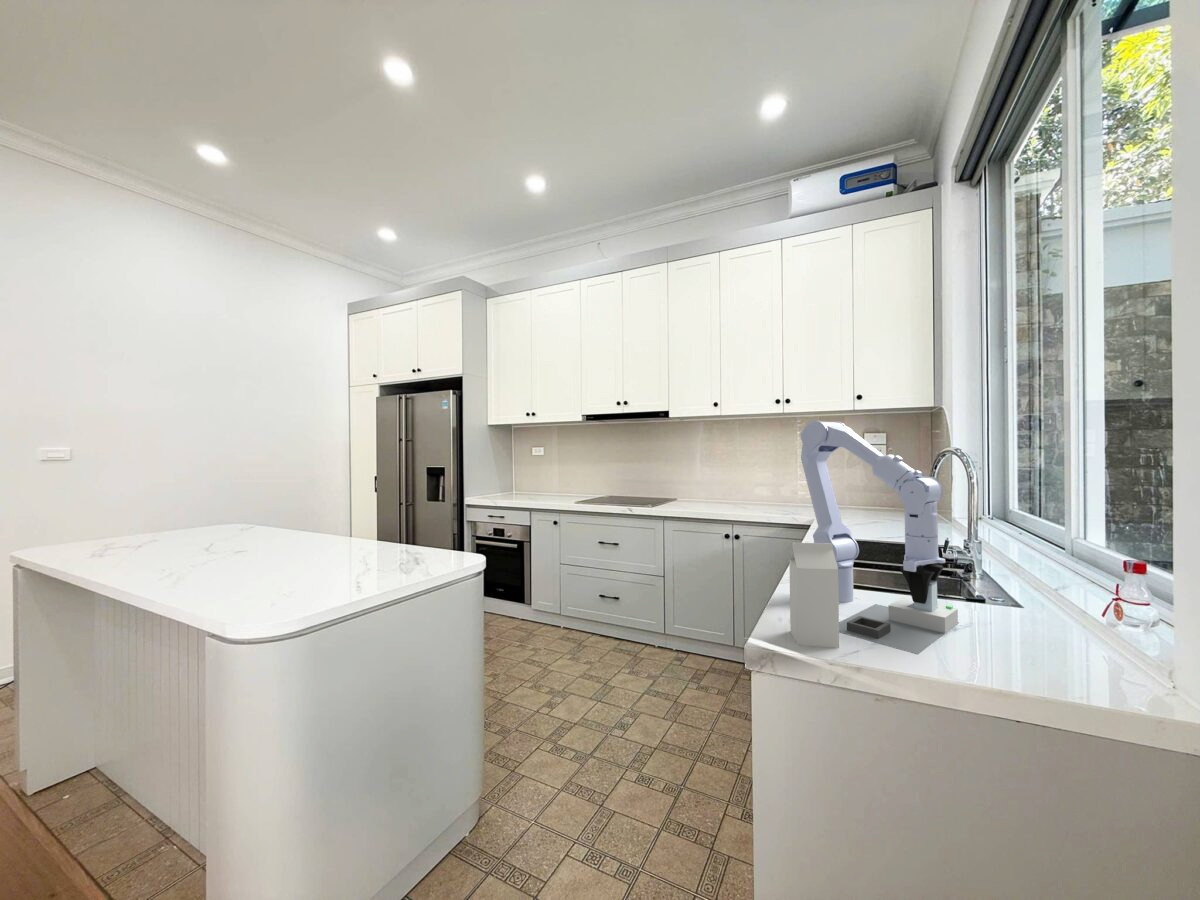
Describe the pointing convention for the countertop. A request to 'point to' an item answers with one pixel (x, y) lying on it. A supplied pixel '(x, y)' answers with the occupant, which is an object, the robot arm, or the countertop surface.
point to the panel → (901, 625)
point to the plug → (929, 598)
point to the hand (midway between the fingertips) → (922, 600)
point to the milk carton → (814, 595)
